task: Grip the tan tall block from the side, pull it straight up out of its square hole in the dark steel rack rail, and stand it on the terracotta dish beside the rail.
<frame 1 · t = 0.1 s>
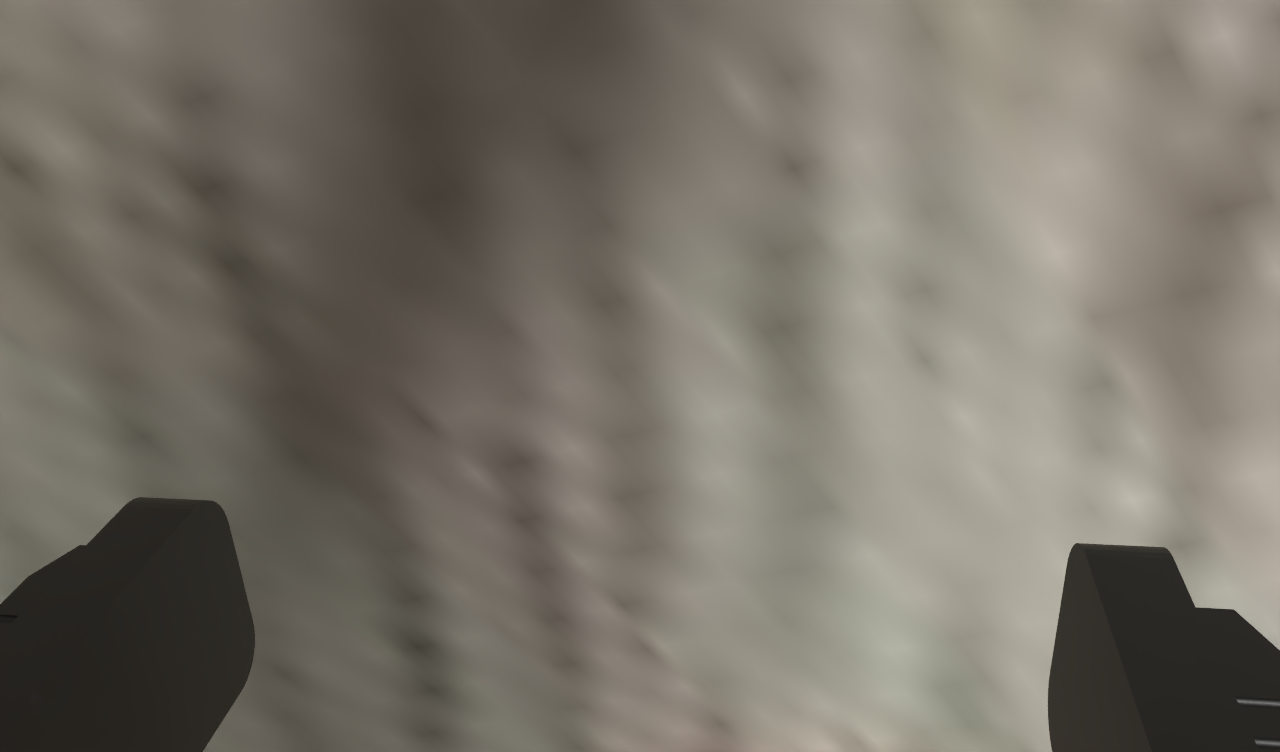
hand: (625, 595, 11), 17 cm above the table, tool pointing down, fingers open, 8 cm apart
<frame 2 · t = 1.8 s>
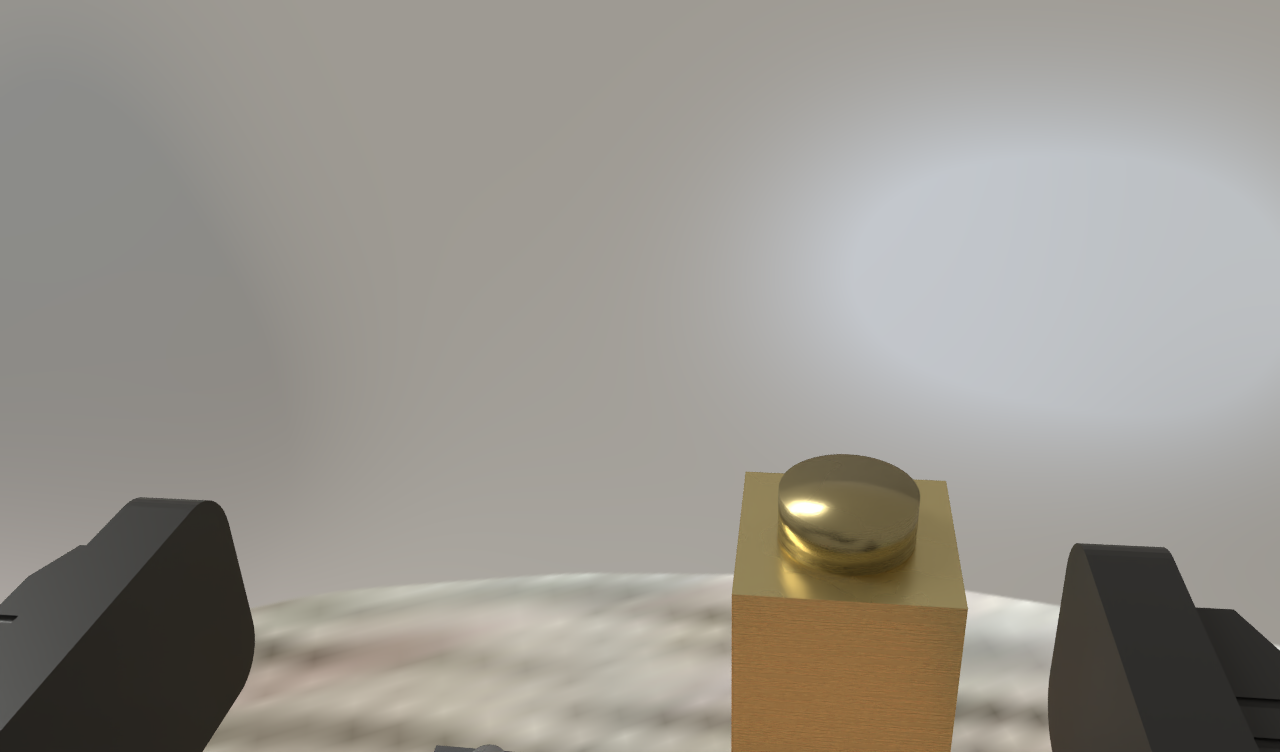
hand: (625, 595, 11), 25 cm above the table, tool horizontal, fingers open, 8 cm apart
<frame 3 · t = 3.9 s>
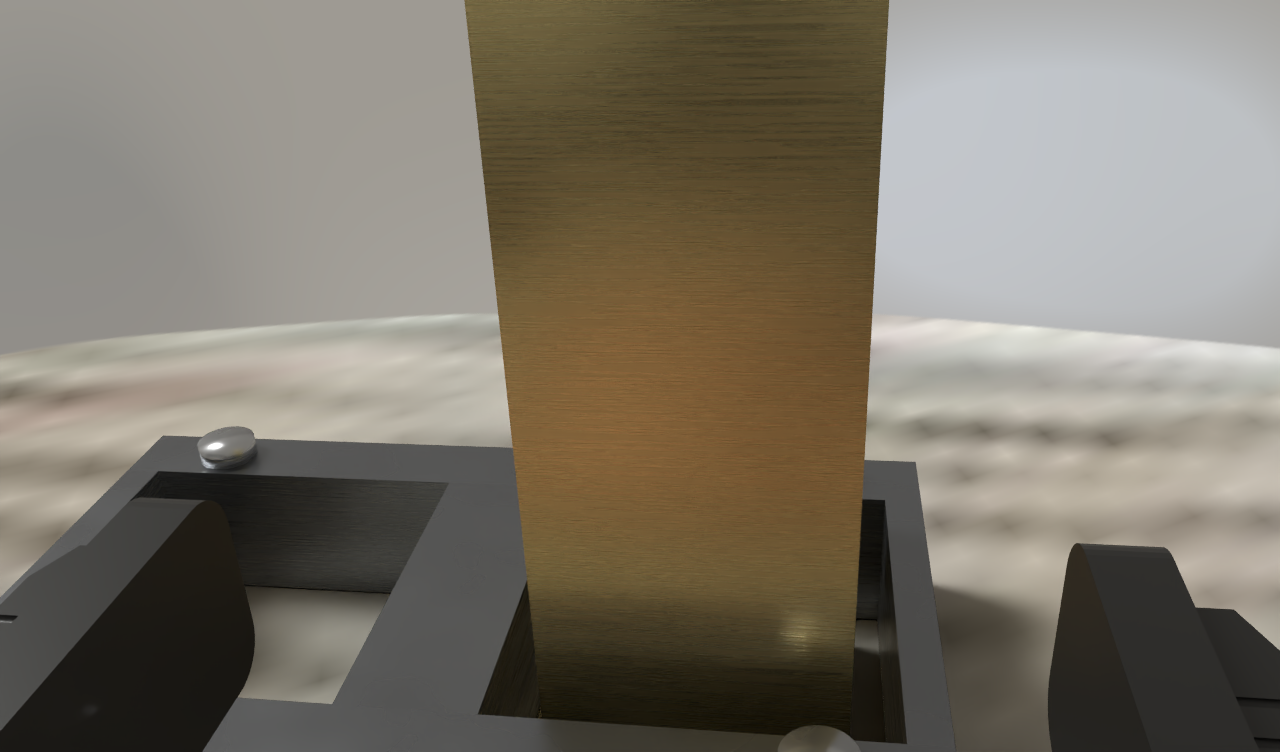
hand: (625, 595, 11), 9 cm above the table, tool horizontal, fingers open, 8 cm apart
tan tall block: (708, 722, 22), resting in rack rail
rack rail: (478, 705, 22), on the table
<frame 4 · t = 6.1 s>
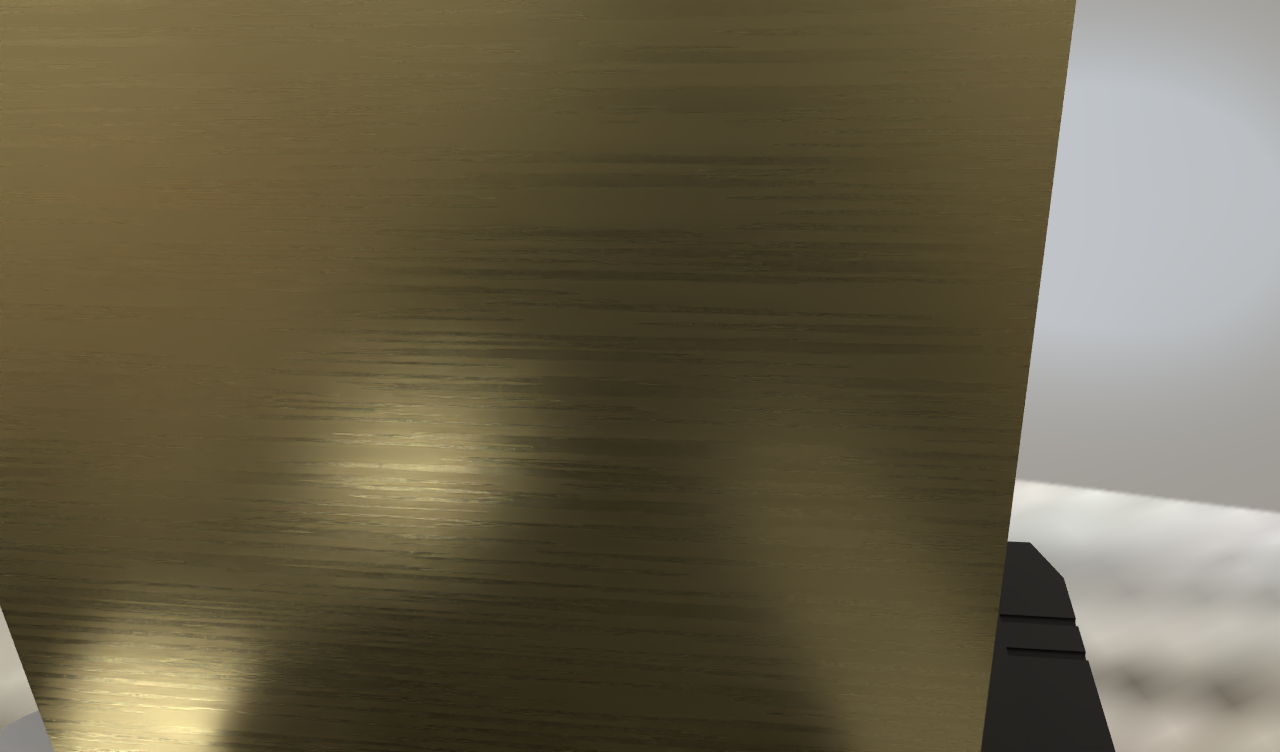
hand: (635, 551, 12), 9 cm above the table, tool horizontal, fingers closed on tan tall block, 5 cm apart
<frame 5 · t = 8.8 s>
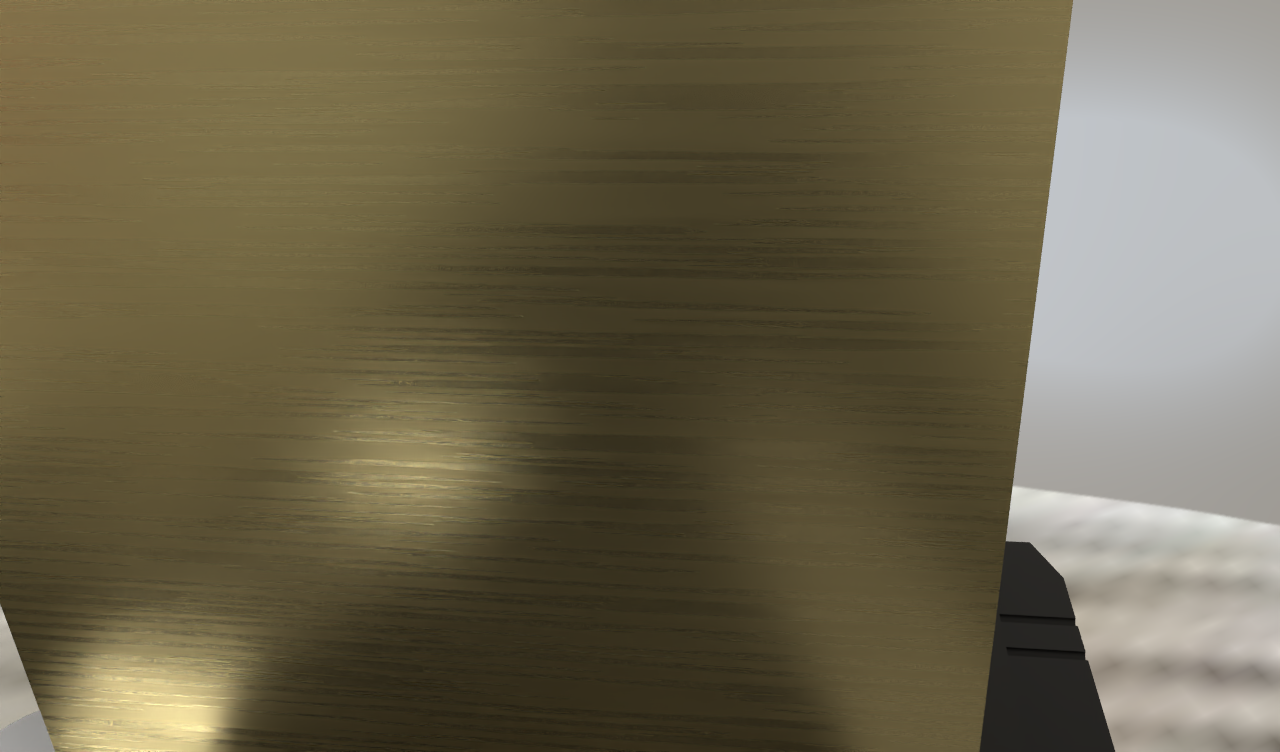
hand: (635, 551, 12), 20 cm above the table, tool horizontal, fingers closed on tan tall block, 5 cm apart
when the fingers open (10 cm above the table, at t = 11.6 s): tan tall block stays where it is, resting on terracotta dish.
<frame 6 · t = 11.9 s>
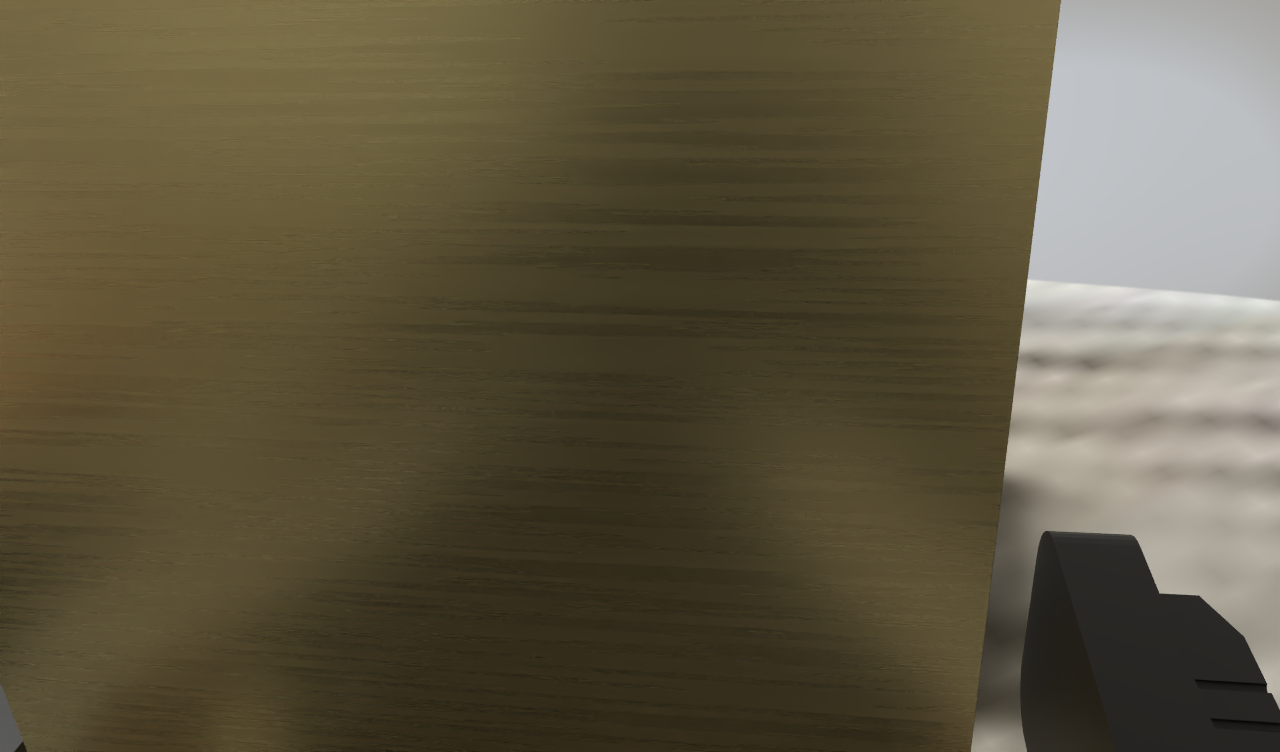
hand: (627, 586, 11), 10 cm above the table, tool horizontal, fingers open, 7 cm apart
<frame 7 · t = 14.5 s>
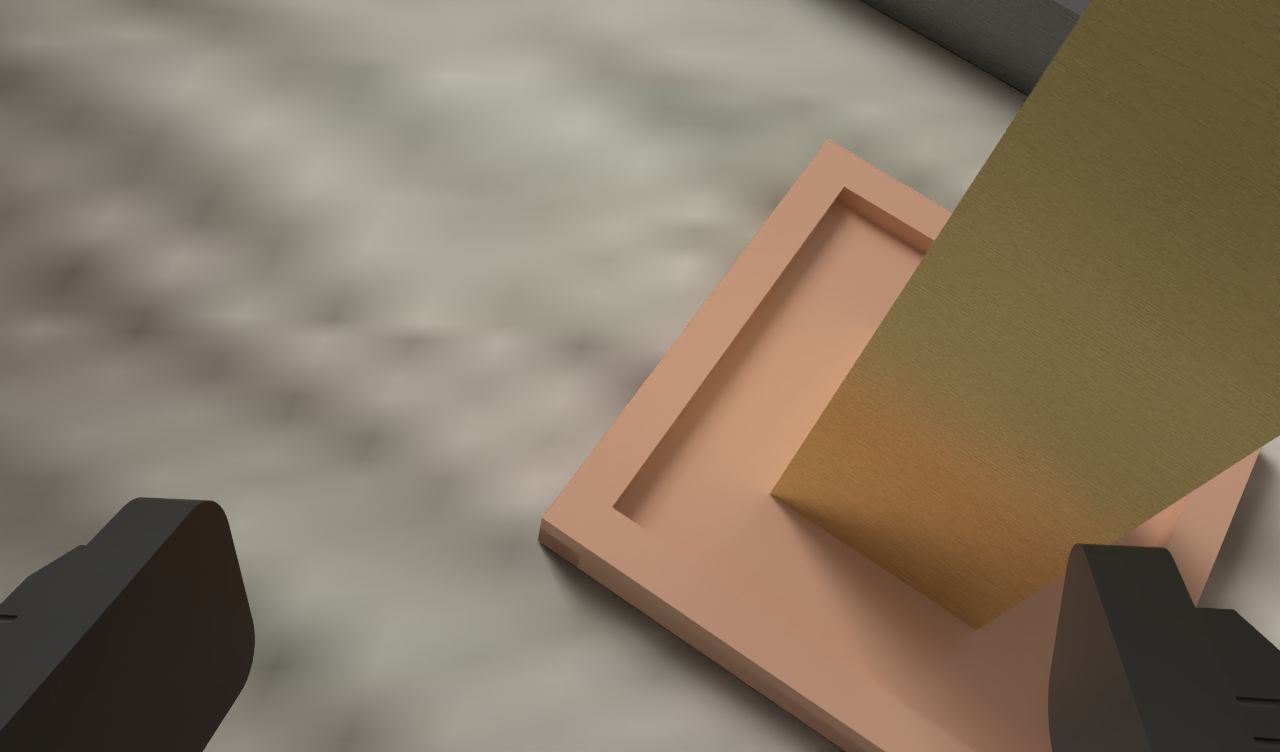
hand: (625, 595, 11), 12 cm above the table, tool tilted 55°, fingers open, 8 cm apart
tan tall block: (924, 470, 25), point 1 cm above the table, touching terracotta dish
terracotta dish: (914, 482, 26), on the table
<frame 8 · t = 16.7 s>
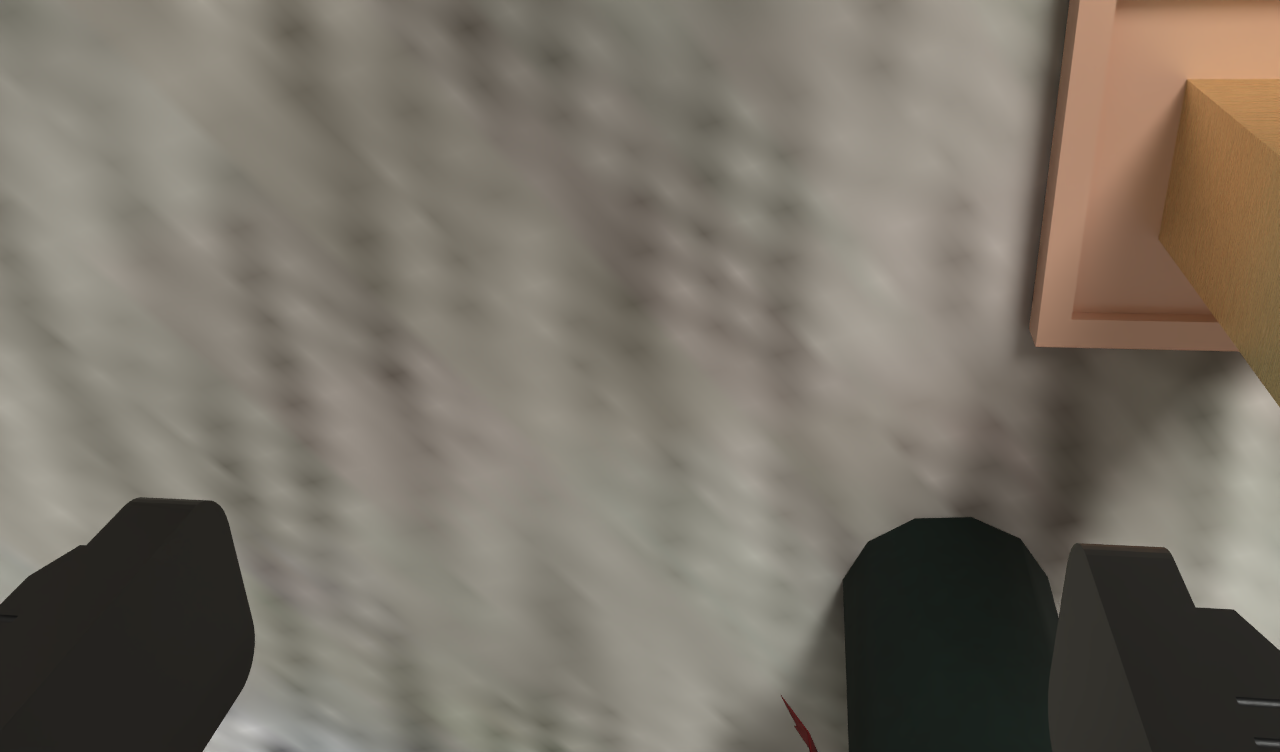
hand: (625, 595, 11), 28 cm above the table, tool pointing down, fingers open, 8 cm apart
tan tall block: (1259, 162, 35), point 1 cm above the table, touching terracotta dish
wine bottle: (914, 603, 45), on the table
terracotta dish: (1253, 155, 35), on the table
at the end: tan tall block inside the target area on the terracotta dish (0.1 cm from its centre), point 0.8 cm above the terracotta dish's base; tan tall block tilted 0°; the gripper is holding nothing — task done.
